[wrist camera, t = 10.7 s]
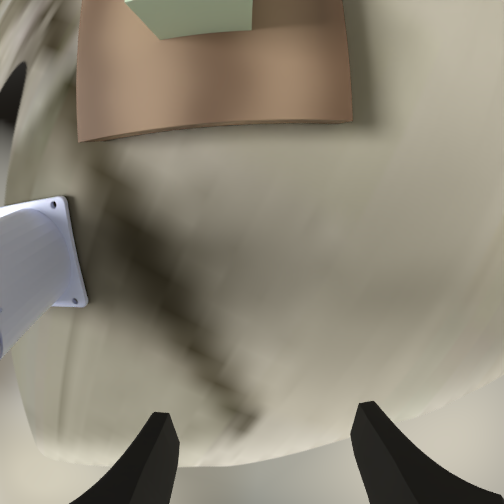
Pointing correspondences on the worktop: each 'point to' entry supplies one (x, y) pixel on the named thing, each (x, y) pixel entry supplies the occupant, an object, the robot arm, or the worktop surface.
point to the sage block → (192, 16)
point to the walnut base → (211, 71)
